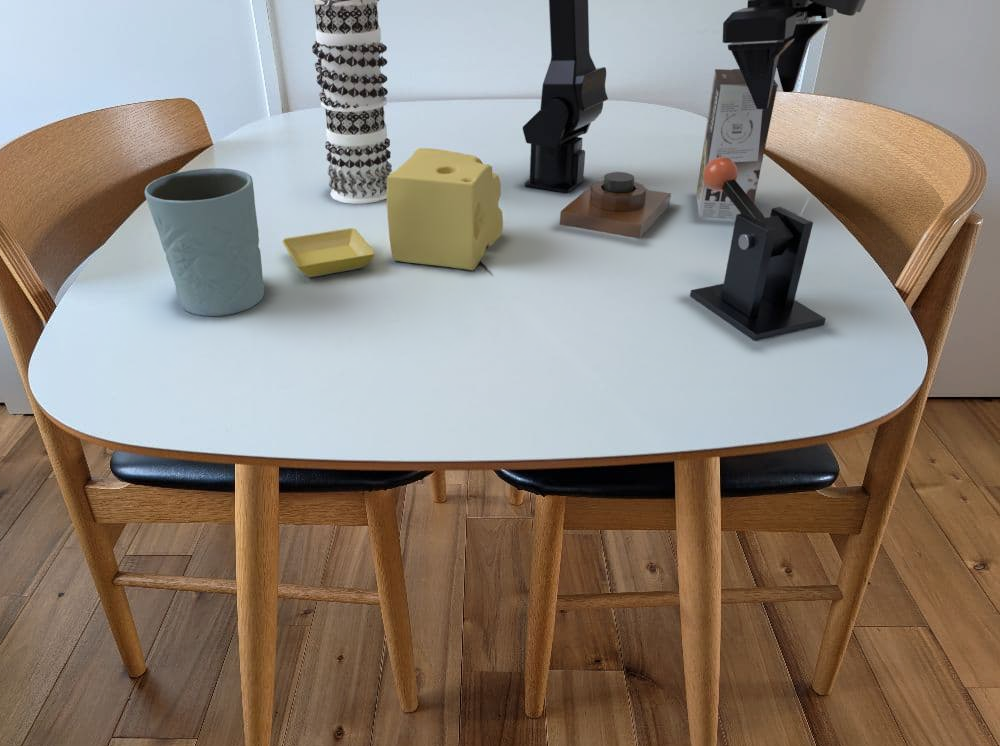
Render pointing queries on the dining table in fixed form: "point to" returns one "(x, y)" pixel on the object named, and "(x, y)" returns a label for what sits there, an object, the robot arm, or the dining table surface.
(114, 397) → the dining table surface
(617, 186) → the button
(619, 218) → the button block
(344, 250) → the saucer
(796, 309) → the bracket
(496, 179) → the cheese
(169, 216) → the grey green cup
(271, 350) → the dining table surface
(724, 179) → the lever
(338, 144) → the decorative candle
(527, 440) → the dining table surface
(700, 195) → the coffee box
